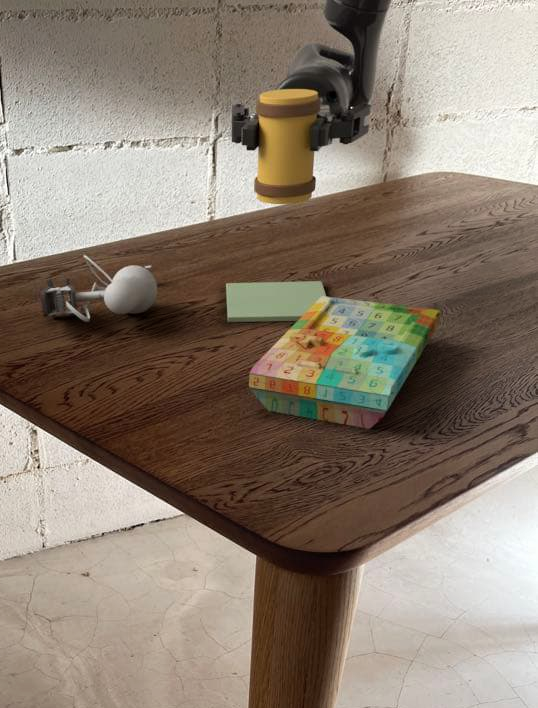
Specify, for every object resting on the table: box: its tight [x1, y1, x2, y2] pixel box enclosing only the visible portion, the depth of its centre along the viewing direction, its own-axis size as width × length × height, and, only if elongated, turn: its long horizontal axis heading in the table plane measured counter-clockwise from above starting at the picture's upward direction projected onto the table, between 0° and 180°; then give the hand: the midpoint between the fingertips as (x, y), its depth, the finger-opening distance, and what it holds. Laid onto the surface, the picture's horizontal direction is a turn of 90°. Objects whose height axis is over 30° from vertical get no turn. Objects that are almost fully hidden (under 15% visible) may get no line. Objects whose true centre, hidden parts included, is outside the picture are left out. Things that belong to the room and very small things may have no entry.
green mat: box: [225, 280, 327, 323], centre depth 97 cm, size 11×11×1 cm
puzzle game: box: [248, 295, 442, 430], centre depth 79 cm, size 12×5×20 cm
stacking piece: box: [253, 89, 321, 205], centre depth 81 cm, size 6×6×9 cm
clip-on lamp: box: [40, 254, 158, 323], centre depth 96 cm, size 12×6×18 cm
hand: (282, 138), depth 79 cm, fingers closed on stacking piece, 5 cm apart
